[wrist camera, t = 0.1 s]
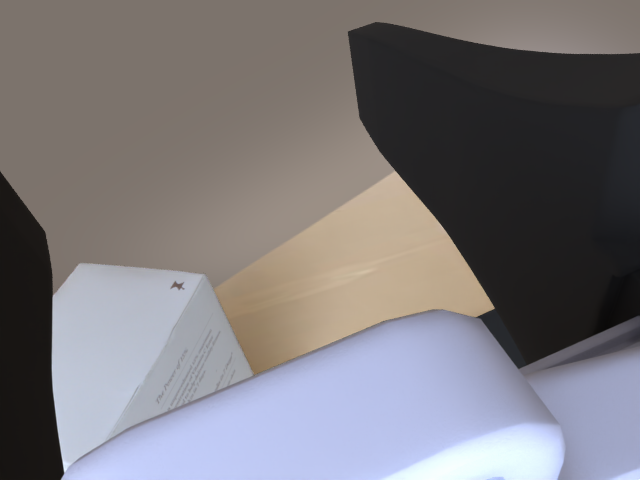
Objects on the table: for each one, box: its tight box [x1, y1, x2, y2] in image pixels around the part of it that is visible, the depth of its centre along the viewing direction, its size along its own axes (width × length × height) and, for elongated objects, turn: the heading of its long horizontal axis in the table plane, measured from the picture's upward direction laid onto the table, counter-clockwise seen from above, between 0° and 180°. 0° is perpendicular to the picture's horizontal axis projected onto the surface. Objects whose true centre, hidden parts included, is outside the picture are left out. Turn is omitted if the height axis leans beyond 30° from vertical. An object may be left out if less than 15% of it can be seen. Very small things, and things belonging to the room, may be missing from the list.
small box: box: [52, 263, 254, 473], centre depth 24 cm, size 8×6×13 cm
